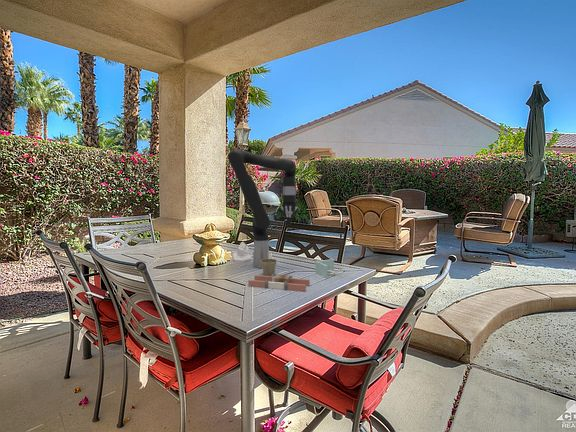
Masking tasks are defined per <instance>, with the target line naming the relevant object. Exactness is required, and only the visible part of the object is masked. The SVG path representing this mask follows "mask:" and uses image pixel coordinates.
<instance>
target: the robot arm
mask: <svg viewBox="0 0 576 432" xmlns="http://www.w3.org/2000/svg"><path fill="white" fill-rule="evenodd" d="M228 162H229V164H230V166H231V168H232V170H233V172H234V174H235V176H236V179H237V182H238V184H239V187H240V190H241V193H242V195H243V198H244V200H245V201H246V203H247V204H248V206H249V207H250V209H251V210H252V212H253V216H254V217H253V219H252V225H251V226H252V236H253V252H252V267H253V268H256V269H263V267H262V263H261V260H263V259H270V257H269V254H270V253H269V246H270V245H269V237H270V236H269V233H268V230H267V229H268V228H270V225H271V221H270V218H269V216H268V213H267V212H266V210H265V207H264V205H263V202H262V198H261V196H260V193H259V190H258V186H257V185H256V183H255V181H254V180H253V178H252V177H251V176H250V174H249V173H248V171H247V168H246V165H245V164H249V165H250V164H251V165H255V166H258V167H261V168H264V169H269V170H275V171H277V170H279V171H282V172H283V173H284V174H283V178H282V181H283V182H282V185H283V186H282V204H281V206H280V207H278V210H279V212H280V214H282V216H283V217H285V219H286V223H287V225H290V224H292V221H293V217H296V215H297V214H298V212H299V211H300V207H298V206H297V202H296V198H297V197H296V193H297V192H296V191H297V190H296V171H297V170H296V167H297V166H296V163H295V161H294V160H292V159H289V158H279V157H275V156H274V157H273V156H269V155H268V156H267V155H262V154H256V153H252V152H249V151H247V150H243V149H241V148H237V149H233V150H231V151H230V152H229V154H228Z"/></svg>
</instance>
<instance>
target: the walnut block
mask: <svg viewBox="0 0 576 432" xmlns="http://www.w3.org/2000/svg"><path fill="white" fill-rule="evenodd" d="M290 276H291V275H290V274H276V275H275V276H274V277H275V278H274V282H281V283H284V281H287V283H290Z"/></svg>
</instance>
